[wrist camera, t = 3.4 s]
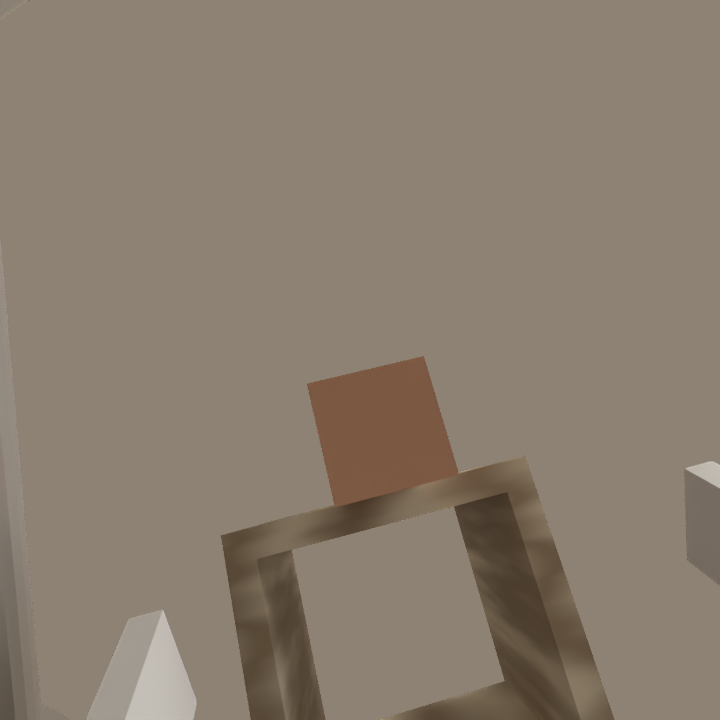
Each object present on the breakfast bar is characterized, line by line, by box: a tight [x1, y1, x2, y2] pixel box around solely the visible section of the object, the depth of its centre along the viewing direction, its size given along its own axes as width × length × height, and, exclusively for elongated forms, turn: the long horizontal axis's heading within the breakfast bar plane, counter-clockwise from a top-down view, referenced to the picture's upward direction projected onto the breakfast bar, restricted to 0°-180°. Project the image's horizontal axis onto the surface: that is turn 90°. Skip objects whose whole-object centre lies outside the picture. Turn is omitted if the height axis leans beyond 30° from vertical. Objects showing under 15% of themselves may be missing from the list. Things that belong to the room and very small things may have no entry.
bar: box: [307, 356, 459, 507], centre depth 27 cm, size 4×24×4 cm, turn 2°
